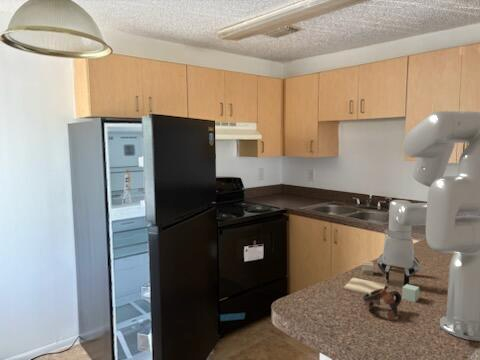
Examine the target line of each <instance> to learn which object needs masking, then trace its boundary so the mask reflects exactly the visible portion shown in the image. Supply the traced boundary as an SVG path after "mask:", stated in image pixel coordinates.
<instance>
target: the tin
mask: <svg viewBox="0 0 480 360" xmlns="http://www.w3.org/2000/svg"><path fill="white" fill-rule="evenodd" d="M382 255H383V253H381V254H380V255H379V257H378V258H380V257H381V256H382ZM414 258H415V260H416V261H417V262H418V264H419V265H420V262H419V259H418V258H417V257H416V256H414ZM382 261H383V260H382ZM377 265H378V269H379V270H380V271H381V272H382V273H384V274H386V271H385V269H384V268H383V267H382V266H381V265H380V264H379V263H378V262H377ZM413 267H415V265H414V264H413V266H412V267H411V268H413ZM391 268H396V269H402V270H405V269H404V268H401V267H396V266H391ZM391 268H390V269H391ZM411 268H410V269H411ZM418 272H419V270H417V271H414V272H413V273H412V274H410V276H409V277H411V276H414V275H416V274H417V273H418Z"/></svg>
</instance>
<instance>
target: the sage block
mask: <svg viewBox="0 0 480 360" xmlns="http://www.w3.org/2000/svg"><path fill="white" fill-rule="evenodd" d="M401 289H402V291H401V300H405V301H408V302H413V303H416V302H417V301H418V300H419V299H420V297H419V296H420V286H416V285H412V284H410V283H409V284H406V285H405V286H403V287H402V288H401Z"/></svg>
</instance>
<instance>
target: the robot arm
mask: <svg viewBox="0 0 480 360" xmlns="http://www.w3.org/2000/svg"><path fill="white" fill-rule="evenodd" d="M456 143H457V144H458V143H462V144H463V143H465V144H468V145H467V146H466V147H465V148H464V150H463V151H462V153H461V154H460V157H459V160H458V169H457V174H456V175H450V176H449V175H445V176H444V174H445V172H446V169H447V167H448V164H449V161H450V159H451V156H452V153H453V151H454V148H455V145H456ZM402 148H403V149H402V150H403V152H404V154H405V156H406V157H408V158H414V159H415V158H417V159H416V163H415V165H414V168H413V171H412V177H413V179H414V180H415V181H416V182H418V183H419V184H421V185H424V186H426V187H428V193H427V199H426V202H417V203H416V202H414V203H412V201H409V200H405V199H394V200H391V201H390V203H389V208H388V209H389V210H388V211H389V212H388V213H389V214H388V229H383V233H384V234H387V236H386V237H385V239H384V244H383V251H382V254H383V255H382V256H381V257H380V256H379V257H380V258H379V257H378V258H377V259H376V262H377V264H378V263H379V264H380V265H381V266H382V267H383V268H384V269H385V271H386V273H385V280H387V281H386V284H387V283H388V284H389V271H390V270H391V269H390V268H391V266H396V267H401V268H404V269H405V272H406V273H405V276H404V286H405V285H406V284H409V285H410V277H411V276H410V274H412V273H413V272H414V271H417V270H418V271H419V270H420V269H421V266H422V265H420V263H419V264H418V262H417V261H416V260H415V258H414V257H415V246H414V245H415V243H414V240H413V238H412V226H413V227H414V226H425V239H426V243H427V244H428V246H429V248H430V249H431V250H432V251H433V252H436V253H439V254H440V253H441V254H453V255H452V256H451V259H450V262H449V270H448V282H447V283H448V284H447V298H446V299H447V300H446V314H445V315H444V316H441V318H440V319H439V326H440V327H441V328H442V330H443V331H445V332H446V333H448V334H451V335H452V336H455V337H457V338H460V339H464V340H467V341H473V342H480V216H478V215H469V216H468V215H463V216H462V215H461V216H460V215H459V216H457V213H474V212H475V213H476V212H480V111H472V110H471V111H466V110H465V111H464V110H463V111H461V110H460V111H456V110H453V111H452V110H451V111H449V110H446V111H445V110H443V111H435V112H432V113H430V114H429V115H428V116H426V117H425V118H423V119H422V120H421V121H419V122H418V123H417V124H416V125H415V126H413V127H412V128H411V129H410V130H409V131H408V133H407V134H406V136H405V137H404V140H403V145H402ZM382 260H383V261H382ZM413 264H414V265H415V267H413V268H411V267H412V266H413ZM410 268H411V269H410Z"/></svg>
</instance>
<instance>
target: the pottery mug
mask: <svg viewBox="0 0 480 360" xmlns="http://www.w3.org/2000/svg"><path fill="white" fill-rule="evenodd" d="M362 299H363V306H365V307H366V306H367V307H368V308H372V307H373V306H374V305H377V306H380V305H381V299H382V300H383V302H384V303H385V304H386V305H389V308H390V309H391V310H390V311H388V312H387V313H386V315H387V317H388V320H389V321H391V320H394V319H396V318H398V317H399V312H398V307H399V305H400V304H401V302H402V294H400V292H399V291H397V290H393V291H392V290H391V291H390V292H388V291H386V288H384V289H383V288H382V289H378V290H375V291H372V292H371V296H370V295H369V294H366V295H365V294H364V295H363V296H362Z"/></svg>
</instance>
